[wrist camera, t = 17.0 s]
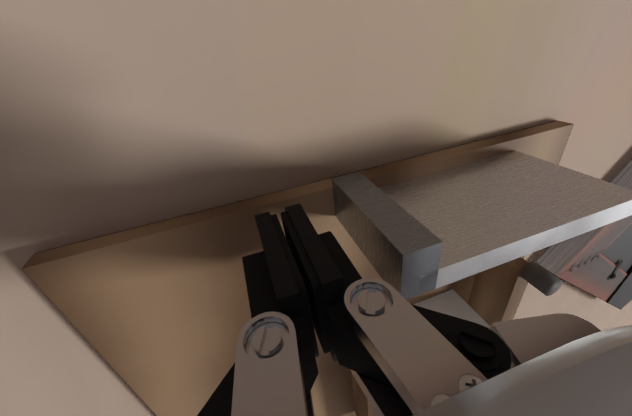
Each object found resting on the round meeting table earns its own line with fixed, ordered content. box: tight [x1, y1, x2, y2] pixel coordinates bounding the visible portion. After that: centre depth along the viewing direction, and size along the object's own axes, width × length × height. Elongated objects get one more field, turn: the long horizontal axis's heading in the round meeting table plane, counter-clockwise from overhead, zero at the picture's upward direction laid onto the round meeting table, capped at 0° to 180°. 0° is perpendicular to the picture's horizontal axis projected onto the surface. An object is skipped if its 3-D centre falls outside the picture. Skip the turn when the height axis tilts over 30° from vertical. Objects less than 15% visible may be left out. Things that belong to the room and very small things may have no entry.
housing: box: [22, 121, 574, 416], centre depth 16 cm, size 24×22×5 cm
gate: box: [332, 150, 632, 300], centre depth 11 cm, size 10×2×5 cm, turn 97°
